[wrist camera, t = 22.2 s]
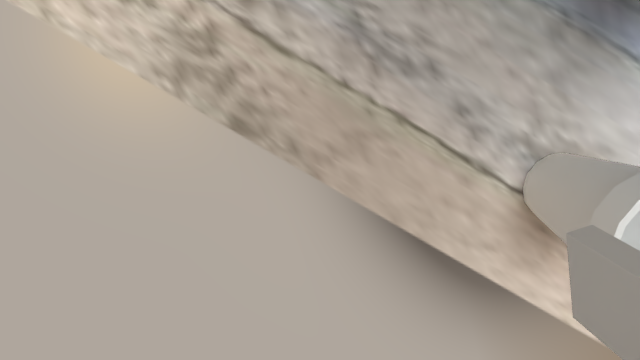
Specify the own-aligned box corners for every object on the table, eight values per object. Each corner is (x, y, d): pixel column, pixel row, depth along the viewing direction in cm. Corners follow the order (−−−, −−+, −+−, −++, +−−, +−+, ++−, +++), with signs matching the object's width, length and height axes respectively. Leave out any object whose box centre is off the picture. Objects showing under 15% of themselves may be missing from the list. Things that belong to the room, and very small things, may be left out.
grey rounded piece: (617, 157, 45) (756, 206, 33) (568, 242, 47) (682, 317, 35) (537, 121, 43) (656, 160, 31) (489, 212, 45) (583, 282, 33)
